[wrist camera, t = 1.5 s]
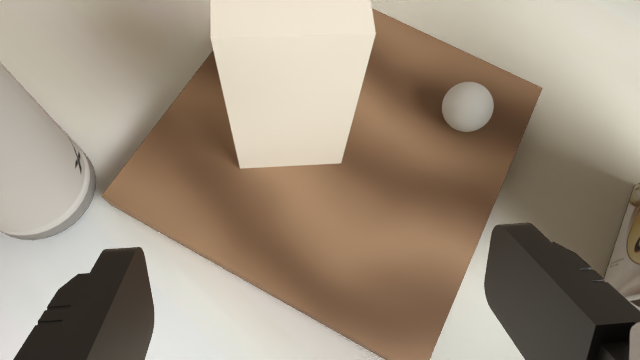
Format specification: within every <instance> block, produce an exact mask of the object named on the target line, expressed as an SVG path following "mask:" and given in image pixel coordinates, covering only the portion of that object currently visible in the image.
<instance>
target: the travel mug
mask: <svg viewBox="0 0 640 360" xmlns="http://www.w3.org/2000/svg"><path fill="white" fill-rule="evenodd" d="M95 187H96V176H95V171H94V167H93V165H92V163H91V161H90V160H89V158H88V157H87V156H86V155H85V153H84V152H83V151H82V150H81V149H80V148H79V147H78V146H77V145H76V144H75V143H74V142H73V140H72V139H71V138H70V137H69V136H68V135H67V134H66V133H65V132H64V131H63V130H62V129H61V127H60V126H59V125H58V124H57V123H56V122H55V121H54V120H53V119H52V118H51V117H50V116H49V114H48V113H47V112H46V111H45V110H44V109H43V108H42V107H41V106H40V105H39V104H38V103H37V102H36V100H35V99H34V98H33V97H32V96H31V95H30V94H29V93H28V92H27V91H26V90H25V89H24V88H23V86H22V85H21V84H20V83H19V82H18V81H17V80H16V79H15V78H14V77H13V76H12V75H11V73H10V72H9V71H8V70H7V69H6V68H5V67H4V66H3V65H2V64H1V63H0V232H2V233H5V234H7V235H9V236H11V237H15V238H18V239H27V240H35V239H43V238H46V237H50V236H53V235H56V234H58V233H60V232H62V231H64V230H66V229H67V228H68V227H70V226H71V225H73V224H74V223H75V222H76V221H77V220H78V219H79V218H80V217H81V216H82V215H83V214H84V212H85V211H86V209H87V208H88V207H89V205H90V203H91V200H92V198H93V196H94V191H95Z"/></svg>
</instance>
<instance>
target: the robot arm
mask: <svg viewBox="0 0 640 360" xmlns="http://www.w3.org/2000/svg"><path fill="white" fill-rule="evenodd" d="M484 287H485V295H486V299H487V302H488V304H489V306H490V308H491V310H492V311H493V313H494V314H495V316H496V317H497V319H498V320H499V321H500V323H501V324H502V326H503V327H504V329H505V330H506V332H507V333H508V335H509V336H510V338H511V339H512V341H513V342H514V344H515V345H516V347H517V348H518V350H519V351H520V353H521V354H522V356H523V357H524V358H525V360H640V311H639V310H638V309H637V308H636V307H635V306H634V305H632V304H631V303H630V302H629V301H628V300H627V299H626V298H625V297H624V296H622V295H621V294H620V293H619V292H618V291H617V290H616V289H615V288H614V287H613V286H611V285H610V284H609V283H608V282H605V281H604V278H603V277H601V276H600V275H599V274H598V273H597V272H596V271H595V270H592V269H591V267H590V266H589V265H588V264H587V263H586V262H585V261H584V260H583V259H581V258H580V257H579V256H578V255H577V254H576V253H574V252H572V251H570V250H568V249H566V248H564V247H563V246H561V245H559V244H557V243H555V242H550V241H549V240H548V239H547V238H546V237H545V236H544V235H543V234H542V233H541V232H540V231H539V230H538V229H537V228H536V227H534V226H533V225H532V224H530V223H518V224H503V225H496V226H495V227H494V229H493V231H492V235H491V241H490V247H489V254H488V261H487V268H486V274H485V282H484ZM153 328H154V305H153V299H152V294H151V288H150V283H149V277H148V272H147V266H146V261H145V256H144V252H143V250H142V248H140V247H133V248H118V249H105V250H103V251H102V253H101V254H100V256H99V258H98V260H97V261H96V263H95V265H94V267H93V268H92V270H91V272H90V273H86V274H78V275H76V276H75V277H74V278H72V279H71V280H70V281H69V282H67V283H66V284H65V285H64V286H62V287H61V288H60V289H58V291H57V293H56V294H55V296H54V297H53V299H52V300H51V302H50V303H49V305H48V307H47V310H45V311H44V313H43V314H42V316H41V317H40V319H39V321H38V325H35V327H34V328H33V330H32V331H31V333H30V335H29V336H28V338H27V339H26V341H25V342H24V344H23V345H22V347H21V349H20V350H19V352H18V353H17V355H16V356H15V358H14V359H13V360H145V357H146V353H147V350H148V347H149V343H150V340H151V337H152V333H153Z"/></svg>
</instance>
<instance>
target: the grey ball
mask: <svg viewBox="0 0 640 360" xmlns="http://www.w3.org/2000/svg"><path fill="white" fill-rule="evenodd" d="M493 108H494V104H493V98H492V96H491V94H490V92H489V91H488V90H487V89H486V88H485V87H484V86H482V85H480V84H478V83H475V82H463V83H459V84H457V85H455V86H454V87H452V88H451V89H450V90H449V91H448V92H447V93H446V95H445V97H444V99H443V102H442V114H443V117H444V119H445V121H446V122H447V123H448V124H449V125H450V126H451V127H452V128H454V129H456V130H458V131H462V132H471V131H475V130H478V129H480V128H481V127H483V126H484V125H485V124H486V123H487V122H488V121H489V119H490V118H491V116H492V113H493Z"/></svg>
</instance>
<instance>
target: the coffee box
mask: <svg viewBox="0 0 640 360" xmlns="http://www.w3.org/2000/svg"><path fill="white" fill-rule="evenodd" d="M604 281H605V282H608V283H609V284H610V285H611V286H613V287H614V288H615V289H616V290H617V291H618V292H619V293H620V294H621V295H622V296H624V297H625V298H626V299H627V300H628V301H629V302H630V303H631V304H632V305H634V306H635V307H636V308H637V309H638V310H639V311H640V183H639V184H637V185H636V186H634V189H633V192H632V195H631V198H630V201H629V204H628V207H627V210H626V213H625V216H624V219H623V222H622V225H621V228H620V232H619V235H618V238H617V241H616V244H615V247H614V250H613V253H612V256H611V259H610V262H609V265H608V268H607V271H606V275H605V278H604Z"/></svg>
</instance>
